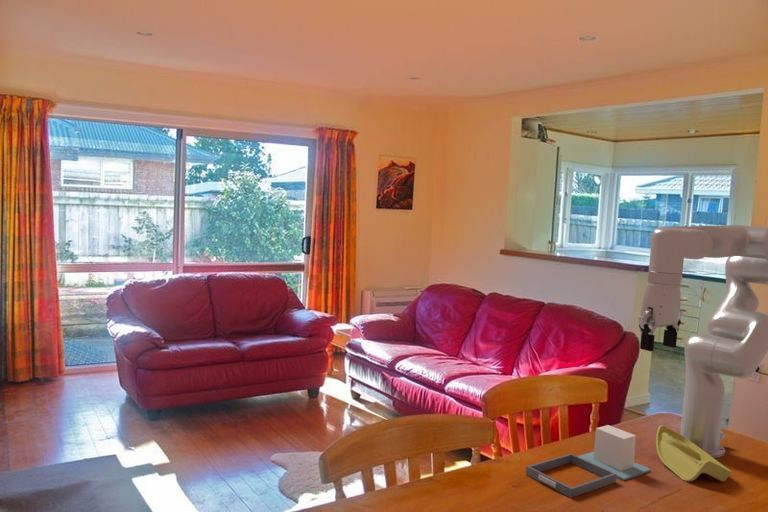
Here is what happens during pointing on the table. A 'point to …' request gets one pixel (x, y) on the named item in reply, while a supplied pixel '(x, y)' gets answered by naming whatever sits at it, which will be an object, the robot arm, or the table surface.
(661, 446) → the plastic component
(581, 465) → the grey rectangular frame
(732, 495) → the table surface
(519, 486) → the table surface
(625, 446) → the block
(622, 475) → the mat
